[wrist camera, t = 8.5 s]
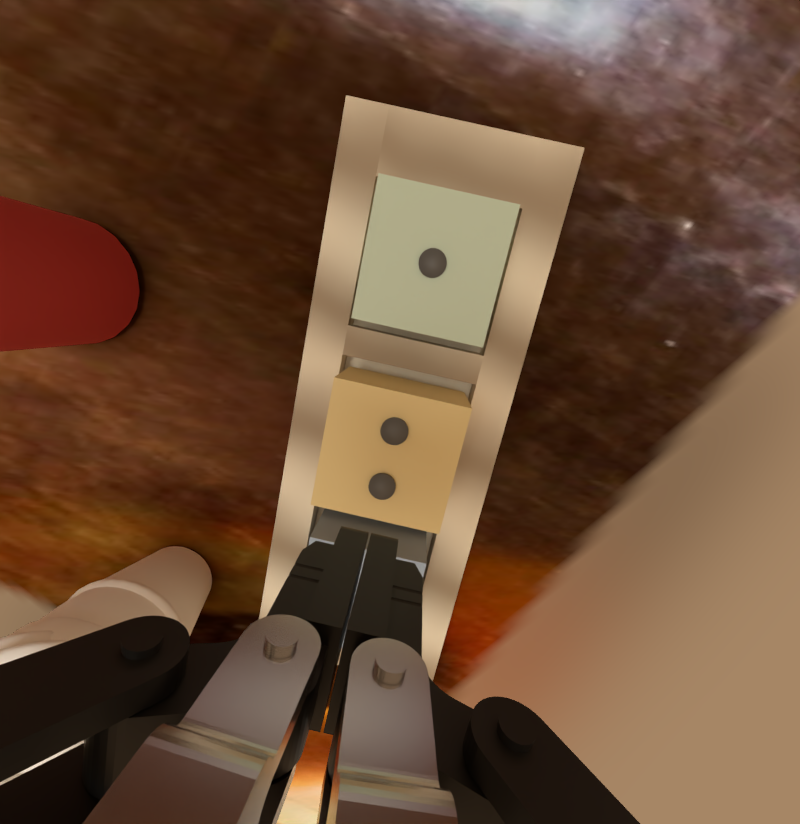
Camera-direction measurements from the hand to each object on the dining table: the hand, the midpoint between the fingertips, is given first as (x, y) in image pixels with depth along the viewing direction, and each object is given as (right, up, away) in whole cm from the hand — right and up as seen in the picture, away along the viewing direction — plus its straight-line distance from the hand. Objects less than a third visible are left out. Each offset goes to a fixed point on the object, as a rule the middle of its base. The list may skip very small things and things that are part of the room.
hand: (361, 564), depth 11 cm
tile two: (+1, +3, +12) cm, 12 cm away
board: (+1, +3, +14) cm, 14 cm away
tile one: (+3, +11, +11) cm, 16 cm away
